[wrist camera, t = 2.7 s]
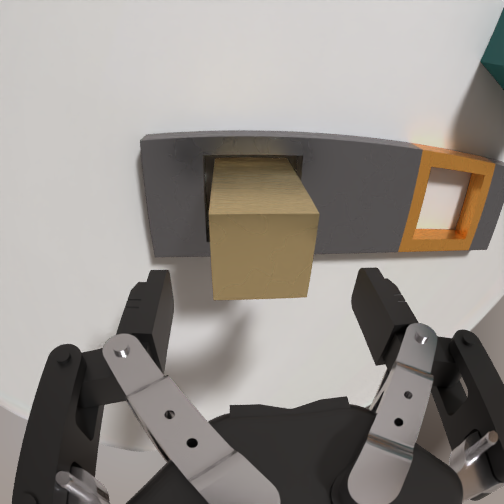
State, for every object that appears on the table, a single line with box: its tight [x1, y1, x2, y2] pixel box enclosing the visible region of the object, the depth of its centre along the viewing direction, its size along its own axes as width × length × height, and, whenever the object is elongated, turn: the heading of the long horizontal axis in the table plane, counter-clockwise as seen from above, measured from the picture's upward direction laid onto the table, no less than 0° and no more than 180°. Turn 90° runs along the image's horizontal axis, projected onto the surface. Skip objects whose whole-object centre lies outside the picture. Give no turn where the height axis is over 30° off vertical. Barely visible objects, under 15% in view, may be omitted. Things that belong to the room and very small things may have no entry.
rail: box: [140, 131, 504, 257], centre depth 20 cm, size 8×28×2 cm, turn 89°
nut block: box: [209, 157, 320, 300], centre depth 17 cm, size 4×4×8 cm
